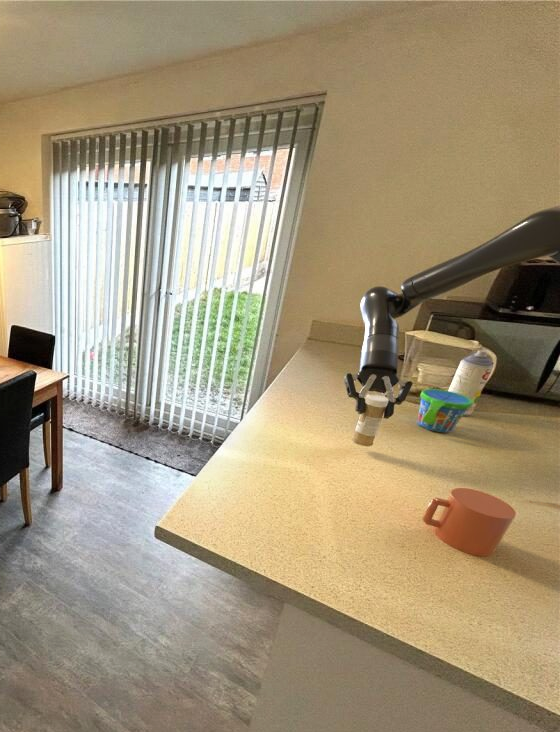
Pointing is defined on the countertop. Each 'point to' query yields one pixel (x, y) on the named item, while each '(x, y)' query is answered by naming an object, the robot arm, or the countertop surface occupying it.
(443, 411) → the snack cup
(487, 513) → the upturned cup
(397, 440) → the countertop surface
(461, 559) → the countertop surface
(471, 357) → the aerosol can
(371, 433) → the brown spice jar
